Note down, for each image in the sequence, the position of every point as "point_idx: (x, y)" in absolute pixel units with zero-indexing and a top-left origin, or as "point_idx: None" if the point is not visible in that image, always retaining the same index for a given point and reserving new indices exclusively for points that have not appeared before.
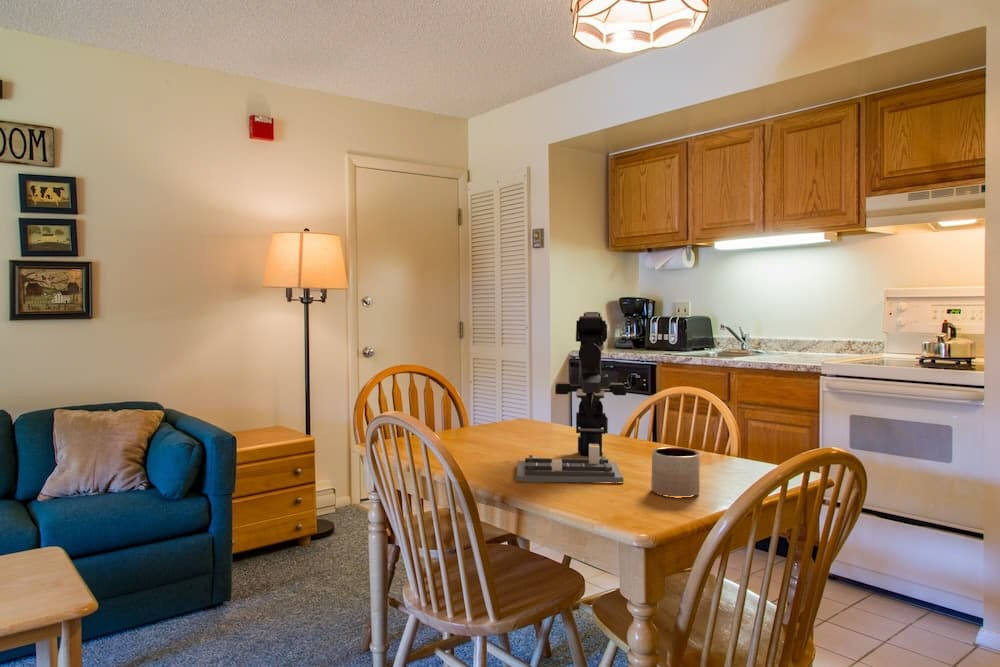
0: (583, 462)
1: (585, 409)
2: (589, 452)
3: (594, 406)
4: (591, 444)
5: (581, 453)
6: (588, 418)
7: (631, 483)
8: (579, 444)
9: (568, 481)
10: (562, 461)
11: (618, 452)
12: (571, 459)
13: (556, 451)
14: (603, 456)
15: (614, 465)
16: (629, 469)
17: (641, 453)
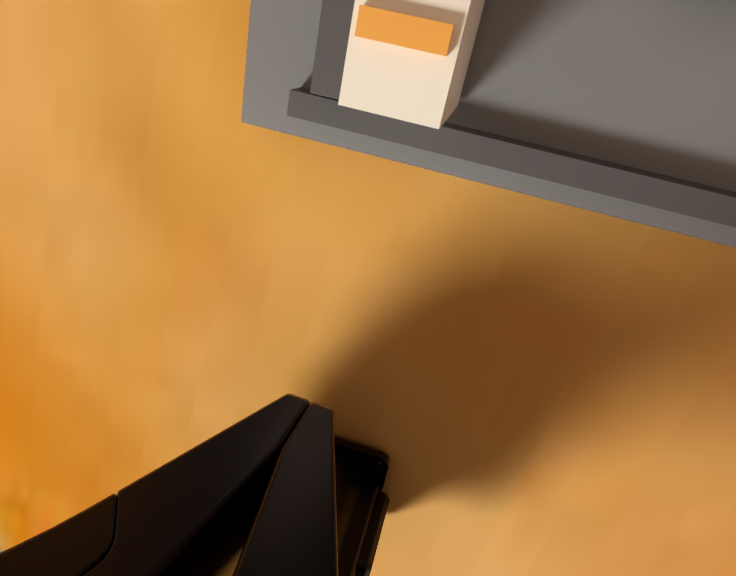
0: (495, 134)
1: (333, 567)
2: (467, 41)
3: (82, 545)
4: (440, 21)
5: (379, 468)
6: (323, 425)
7: None
8: (373, 528)
9: None
10: (678, 181)
11: (169, 455)
12: (601, 164)
13: (494, 572)
14: (323, 80)
15: (269, 8)
16: (174, 53)
17: (63, 405)
